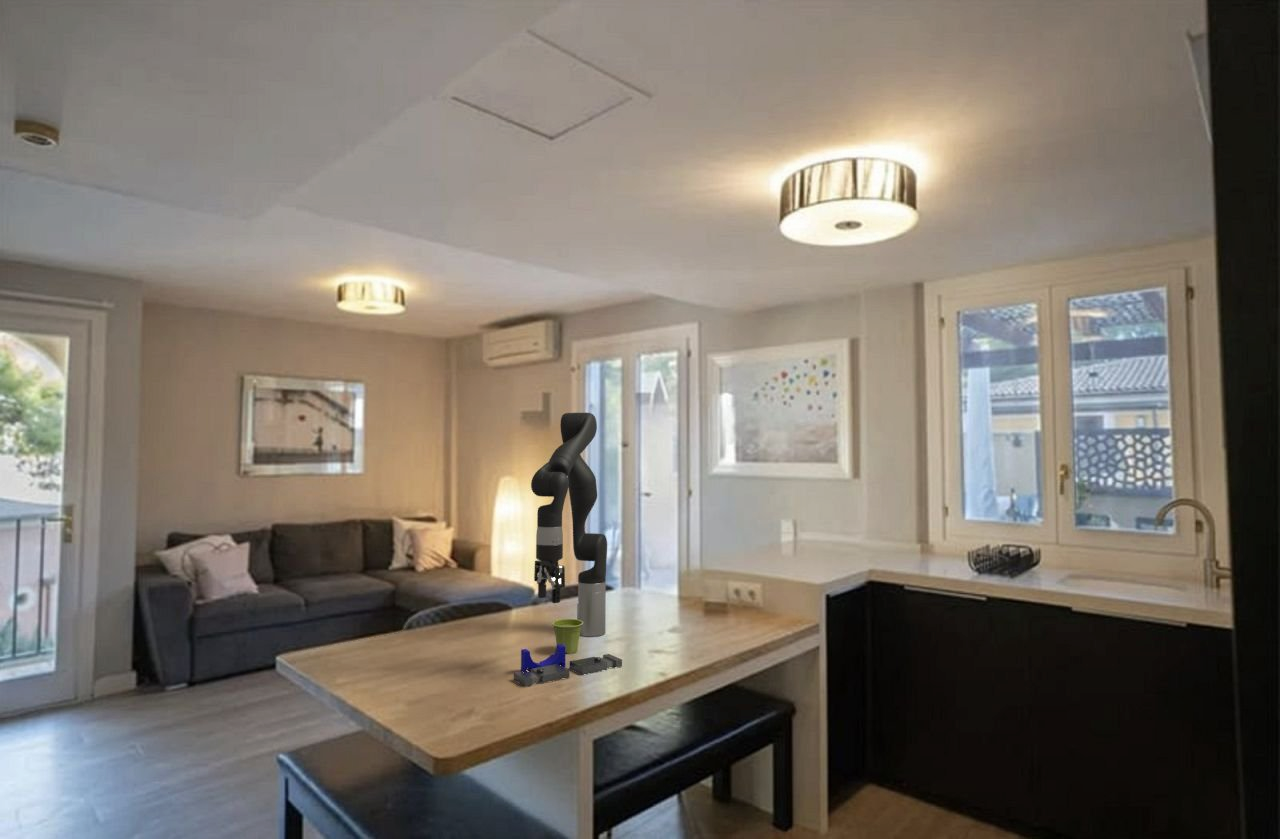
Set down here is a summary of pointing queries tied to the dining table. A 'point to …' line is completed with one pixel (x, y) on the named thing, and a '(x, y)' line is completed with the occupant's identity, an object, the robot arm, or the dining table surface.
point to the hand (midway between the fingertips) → (548, 600)
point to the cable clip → (551, 660)
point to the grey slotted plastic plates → (560, 672)
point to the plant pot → (568, 633)
